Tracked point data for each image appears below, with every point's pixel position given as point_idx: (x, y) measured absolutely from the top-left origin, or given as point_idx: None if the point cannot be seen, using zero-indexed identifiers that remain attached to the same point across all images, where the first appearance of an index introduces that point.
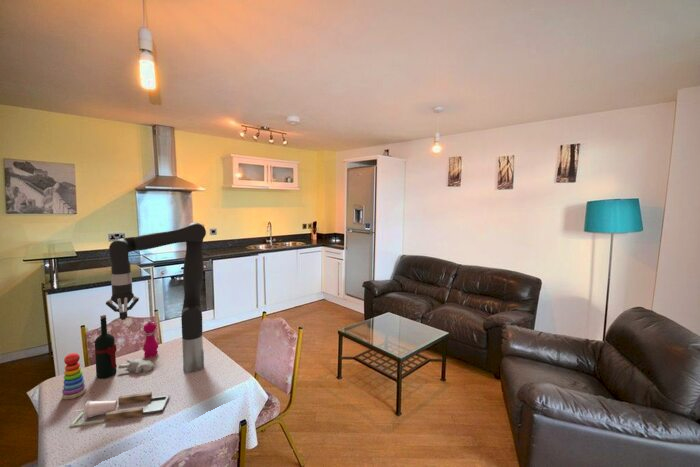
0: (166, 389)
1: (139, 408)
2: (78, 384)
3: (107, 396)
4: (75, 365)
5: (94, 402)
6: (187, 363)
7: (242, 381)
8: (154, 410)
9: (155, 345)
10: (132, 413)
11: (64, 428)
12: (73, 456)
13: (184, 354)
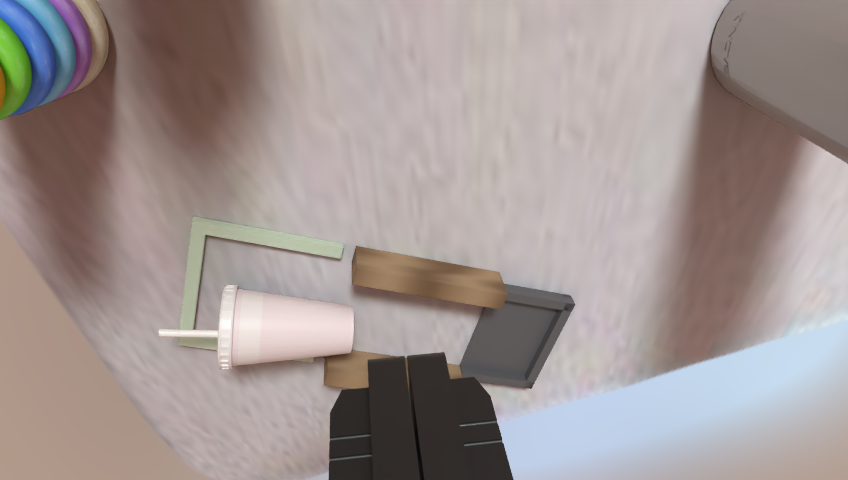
0: (572, 218)
1: None
2: (54, 94)
3: (274, 150)
4: None
5: (256, 353)
6: (763, 110)
7: None
8: (503, 384)
9: None
10: None
11: (160, 339)
12: (263, 477)
13: (797, 116)
